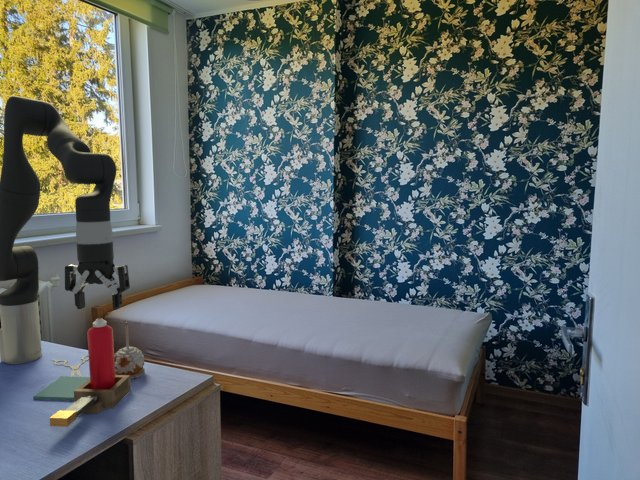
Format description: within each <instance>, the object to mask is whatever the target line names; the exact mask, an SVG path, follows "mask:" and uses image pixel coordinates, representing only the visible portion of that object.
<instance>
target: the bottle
mask: <svg viewBox="0 0 640 480" xmlns="http://www.w3.org/2000/svg"><path fill="white" fill-rule="evenodd" d="M86 333H87V334H86V336H87V349H88V355H89V356H88V359H89V360H88V370H89V377H90V388H91V389H102V390H110V389H111V388H112V387H113V386H114V385H115V384H116V382H115V363H114V355H115V348H114V347H115V346H114V345H115V344H114V343H115V342H114V329H113V327H112V326H110V325H108V322H107V320H105V319H103V317H100V318H99V317H98V318H96V319H95V320H94V321H93V322H92V327H90V328H89V329H88V330H87V332H86Z"/></svg>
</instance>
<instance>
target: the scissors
mask: <svg viewBox="0 0 640 480" xmlns="http://www.w3.org/2000/svg"><path fill="white" fill-rule="evenodd" d="M87 357H88V358H87ZM80 360H81V361H82V362H80V363H78V364H76V365H70V364H67V363H68V360H67V359H60V360H56V359H51V361H52V362H53V364H54V365H55V366H64V367H69V368H70V369H71V373H70V376H69V377H75V375H78V377H84V376H83V374H82V372H81V371H80V366H81V365H83V364H85V363H86V362H87V361H89V354H88V355H84V356H82V357H81V358H80ZM59 362H62V363H59Z"/></svg>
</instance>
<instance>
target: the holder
mask: <svg viewBox="0 0 640 480" xmlns="http://www.w3.org/2000/svg"><path fill="white" fill-rule="evenodd" d="M115 382H116V384H115V385H114V386H113V387H112V388H111V389H110V390H102V389H91V388H90V379H88V380H87V381H86V382H85V383H83V384H82V385H81V386H80V387H78V388H77V389H76V390H75V391H74V401H73V402H74V403H75V402H76V401H77V400H79V399H80V398H81V396H98V397H99V399H98V401H97V402H94V404H93V405H91V406H90V407H89V408H88V409H87V410H85V411H84V412H83V413H82V414H84V415H85V414H87V415H88V414H89V415H91V414H93V415H99V414H100V413H101V412H102V411H103V410H104V409H110V410H111V409H114V408H115V407H116V406H117V405H118V404H119V403H120V402H121V401H122V400H123V399H124V398H125V397H126V396H127V395H128V394H129V393H130V392H131V379H130V375H115Z"/></svg>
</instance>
